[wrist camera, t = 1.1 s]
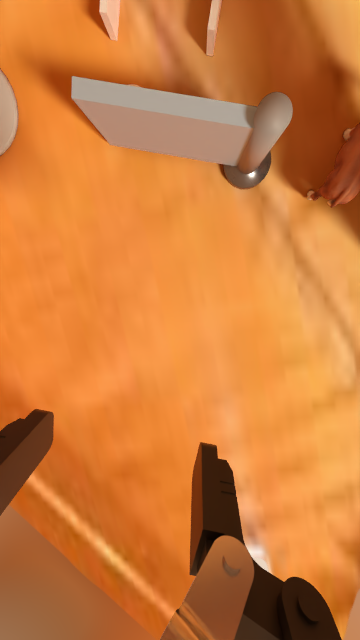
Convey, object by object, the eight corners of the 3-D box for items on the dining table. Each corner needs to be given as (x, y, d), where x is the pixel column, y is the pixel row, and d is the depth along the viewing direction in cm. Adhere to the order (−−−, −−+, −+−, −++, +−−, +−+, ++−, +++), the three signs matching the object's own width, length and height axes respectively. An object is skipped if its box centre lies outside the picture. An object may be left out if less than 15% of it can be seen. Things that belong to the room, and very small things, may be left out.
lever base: (274, 141, 31) (276, 138, 30) (262, 192, 32) (263, 191, 32) (228, 134, 31) (229, 130, 30) (218, 185, 32) (219, 183, 32)
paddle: (262, 149, 30) (297, 94, 19) (256, 176, 31) (286, 137, 20) (111, 124, 30) (66, 57, 20) (109, 151, 31) (65, 100, 21)
